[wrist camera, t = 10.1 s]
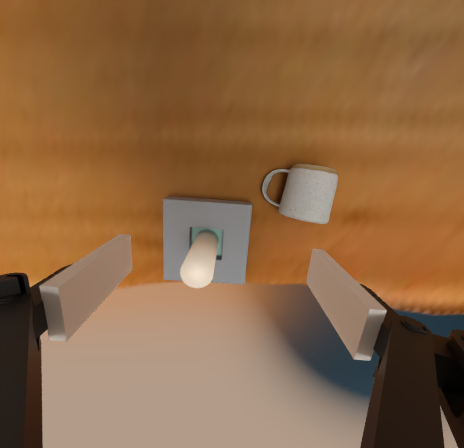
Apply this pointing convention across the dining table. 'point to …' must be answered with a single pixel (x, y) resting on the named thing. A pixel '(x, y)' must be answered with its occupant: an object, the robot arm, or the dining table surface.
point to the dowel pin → (200, 260)
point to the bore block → (213, 218)
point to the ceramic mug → (306, 192)
